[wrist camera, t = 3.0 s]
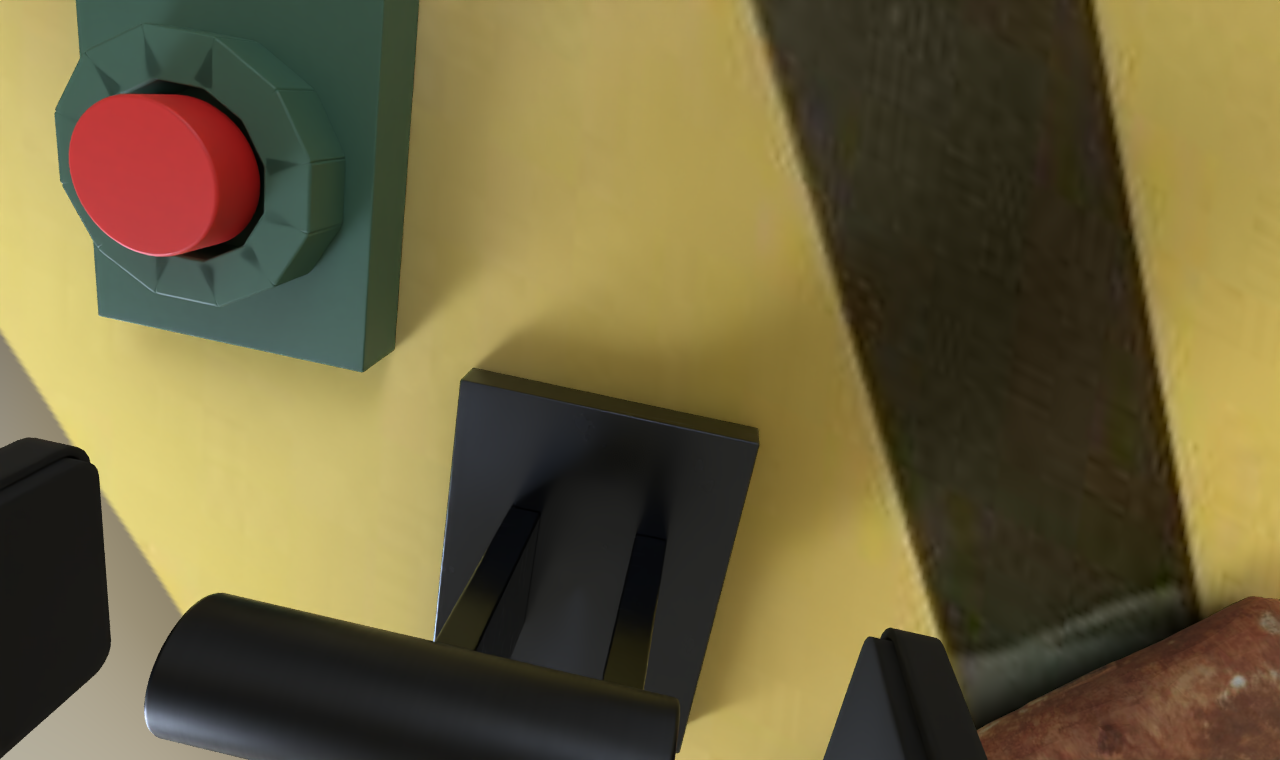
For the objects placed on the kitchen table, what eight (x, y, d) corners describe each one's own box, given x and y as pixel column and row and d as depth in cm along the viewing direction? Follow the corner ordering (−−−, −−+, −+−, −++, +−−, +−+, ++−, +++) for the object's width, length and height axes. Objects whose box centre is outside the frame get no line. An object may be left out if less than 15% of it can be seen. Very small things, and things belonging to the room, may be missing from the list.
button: (119, 81, 19) (60, 79, 17) (262, 110, 18) (216, 110, 17) (127, 229, 20) (73, 241, 18) (261, 257, 20) (218, 271, 18)
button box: (135, -55, 21) (4, -90, 17) (419, -1, 21) (349, -24, 17) (151, 298, 24) (45, 333, 21) (395, 350, 24) (332, 395, 20)
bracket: (472, 366, 24) (209, 629, 12) (759, 427, 24) (781, 764, 12) (439, 671, 28) (219, 1091, 16) (681, 728, 28) (640, 1202, 16)
